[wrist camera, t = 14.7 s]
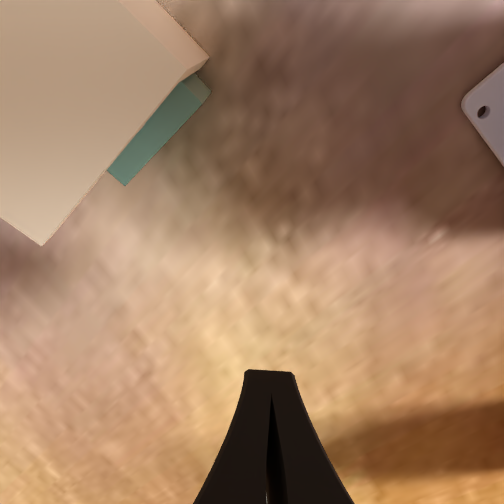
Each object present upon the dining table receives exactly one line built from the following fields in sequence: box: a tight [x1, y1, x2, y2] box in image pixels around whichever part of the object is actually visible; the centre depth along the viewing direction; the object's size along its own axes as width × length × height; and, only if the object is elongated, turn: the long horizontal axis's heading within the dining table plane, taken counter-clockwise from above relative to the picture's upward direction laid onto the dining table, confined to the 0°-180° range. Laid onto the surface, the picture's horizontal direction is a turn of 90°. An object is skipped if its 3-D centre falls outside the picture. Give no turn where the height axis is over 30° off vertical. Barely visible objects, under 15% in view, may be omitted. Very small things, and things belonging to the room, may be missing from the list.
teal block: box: [107, 73, 212, 186], centre depth 15 cm, size 8×4×4 cm, turn 43°
